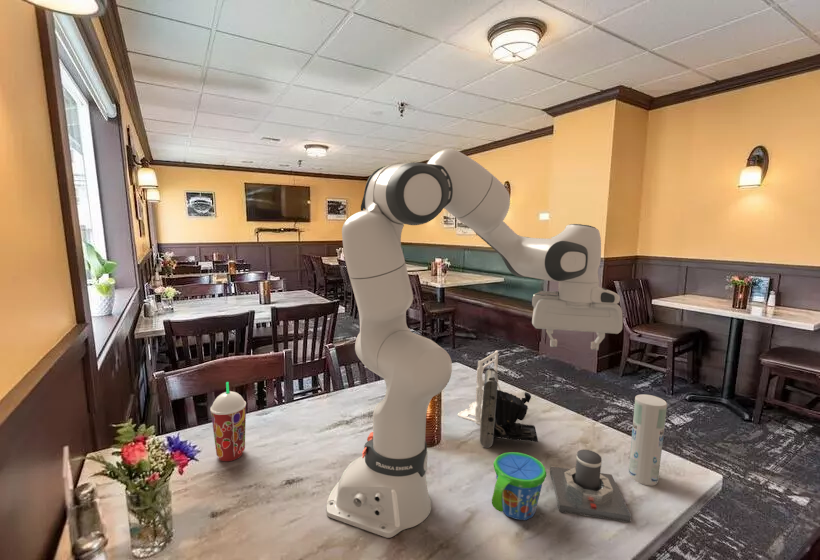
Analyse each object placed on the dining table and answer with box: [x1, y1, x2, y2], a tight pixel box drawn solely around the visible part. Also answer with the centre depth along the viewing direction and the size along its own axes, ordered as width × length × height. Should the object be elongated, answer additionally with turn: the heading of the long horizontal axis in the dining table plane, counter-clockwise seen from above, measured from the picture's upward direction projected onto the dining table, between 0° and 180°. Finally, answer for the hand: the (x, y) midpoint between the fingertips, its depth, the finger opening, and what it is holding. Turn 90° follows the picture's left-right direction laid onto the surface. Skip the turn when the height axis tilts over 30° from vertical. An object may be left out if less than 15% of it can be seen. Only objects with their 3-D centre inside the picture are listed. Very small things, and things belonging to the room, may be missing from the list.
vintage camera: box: [479, 367, 539, 449], centre depth 110 cm, size 10×16×20 cm, turn 78°
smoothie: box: [209, 381, 247, 462], centre depth 102 cm, size 8×8×20 cm
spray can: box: [628, 393, 668, 486], centre depth 95 cm, size 6×6×20 cm
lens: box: [575, 449, 603, 491], centre depth 89 cm, size 5×5×8 cm
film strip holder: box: [457, 350, 502, 426], centre depth 126 cm, size 14×14×20 cm
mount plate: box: [549, 466, 632, 523], centre depth 90 cm, size 14×14×4 cm
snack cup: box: [491, 451, 547, 521], centre depth 84 cm, size 16×10×10 cm
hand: (573, 348), depth 97 cm, fingers open, 8 cm apart
